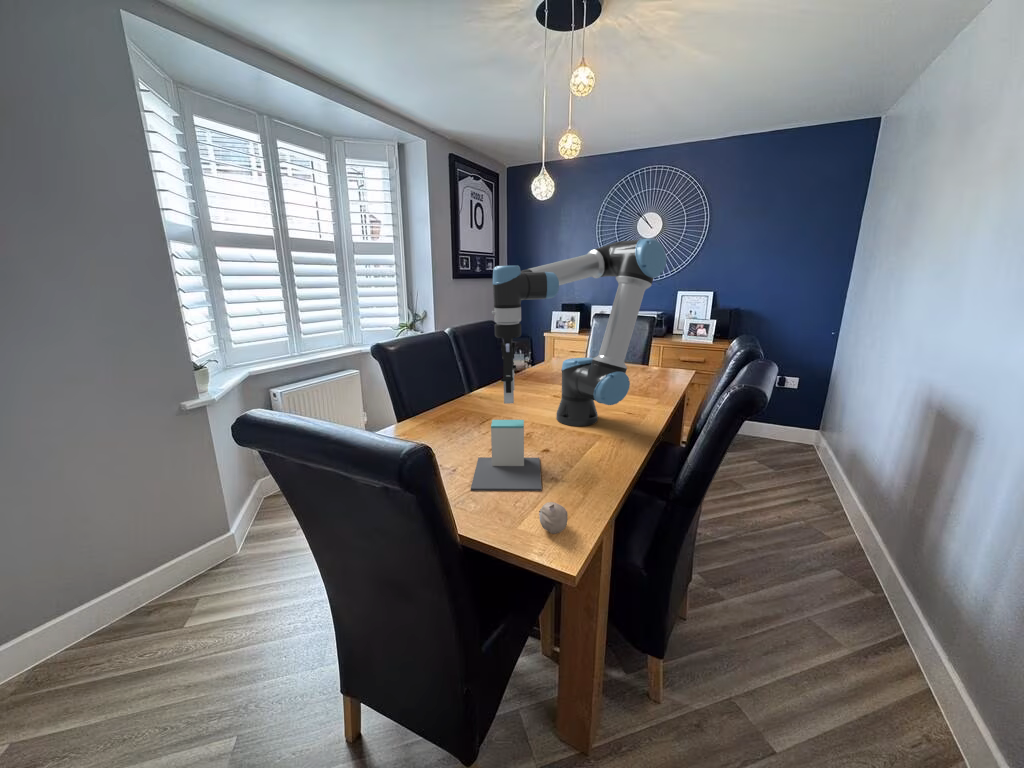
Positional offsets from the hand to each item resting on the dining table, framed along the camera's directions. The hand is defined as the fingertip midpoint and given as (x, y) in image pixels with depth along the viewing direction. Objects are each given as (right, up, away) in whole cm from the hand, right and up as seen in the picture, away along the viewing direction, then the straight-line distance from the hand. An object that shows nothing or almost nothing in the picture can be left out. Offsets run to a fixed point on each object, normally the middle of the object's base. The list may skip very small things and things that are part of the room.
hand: (509, 396), depth 122 cm
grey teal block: (0, -19, -3) cm, 19 cm away
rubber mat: (0, -21, -8) cm, 23 cm away
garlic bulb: (+10, -28, -33) cm, 44 cm away
